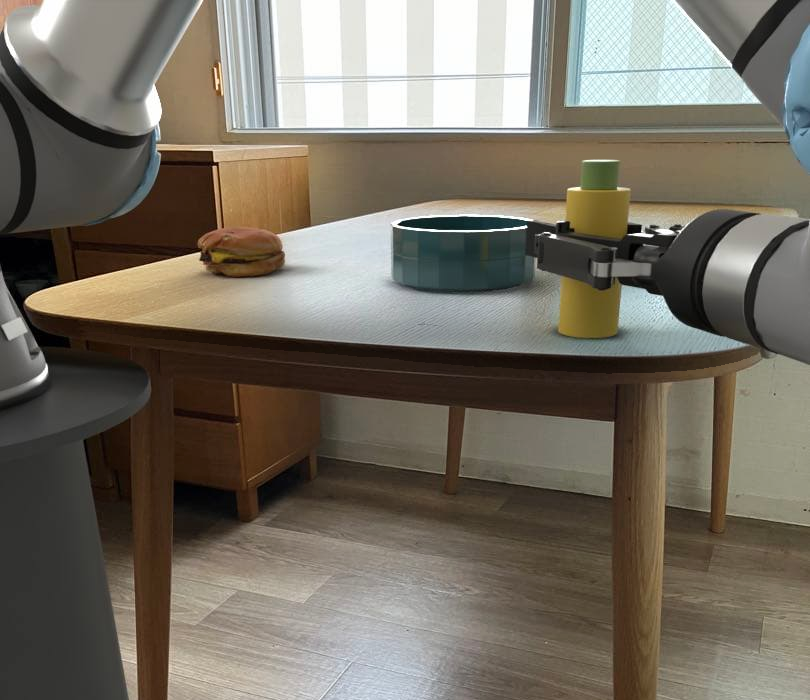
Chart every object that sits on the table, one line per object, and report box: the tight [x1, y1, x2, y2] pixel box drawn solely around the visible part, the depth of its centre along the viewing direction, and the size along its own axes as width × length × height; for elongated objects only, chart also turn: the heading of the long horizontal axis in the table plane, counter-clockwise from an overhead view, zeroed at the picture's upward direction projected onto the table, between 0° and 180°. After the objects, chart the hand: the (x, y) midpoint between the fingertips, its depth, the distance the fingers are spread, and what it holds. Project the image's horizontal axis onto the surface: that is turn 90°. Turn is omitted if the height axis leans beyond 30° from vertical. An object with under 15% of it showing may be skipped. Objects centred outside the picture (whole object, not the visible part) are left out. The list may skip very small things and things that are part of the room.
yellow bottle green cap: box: [557, 159, 632, 339], centre depth 70 cm, size 5×5×13 cm
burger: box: [196, 226, 286, 278], centre depth 102 cm, size 10×9×5 cm
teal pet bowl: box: [390, 214, 537, 294], centre depth 94 cm, size 15×15×6 cm
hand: (562, 235), depth 74 cm, fingers open, 5 cm apart
